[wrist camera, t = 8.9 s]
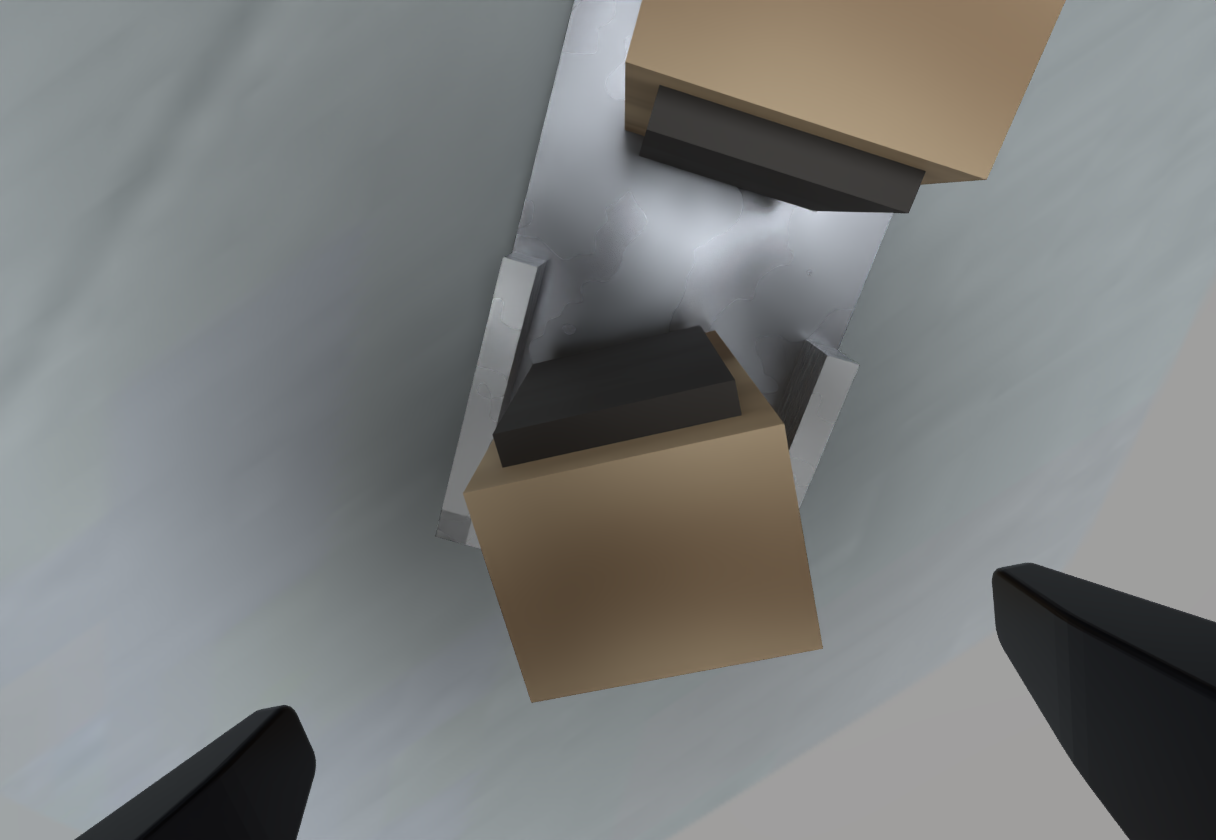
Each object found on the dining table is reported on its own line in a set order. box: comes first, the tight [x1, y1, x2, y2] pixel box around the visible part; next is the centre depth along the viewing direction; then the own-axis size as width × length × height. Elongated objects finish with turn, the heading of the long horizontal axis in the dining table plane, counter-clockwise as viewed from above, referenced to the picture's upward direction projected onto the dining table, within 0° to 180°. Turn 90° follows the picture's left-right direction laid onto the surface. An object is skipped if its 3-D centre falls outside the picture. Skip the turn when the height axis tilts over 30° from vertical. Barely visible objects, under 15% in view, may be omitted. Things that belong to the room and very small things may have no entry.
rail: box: [435, 0, 893, 549], centre depth 17 cm, size 18×9×4 cm, turn 163°
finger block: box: [463, 325, 823, 703], centre depth 15 cm, size 5×5×8 cm
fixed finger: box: [625, 0, 1066, 213], centre depth 12 cm, size 5×5×8 cm
